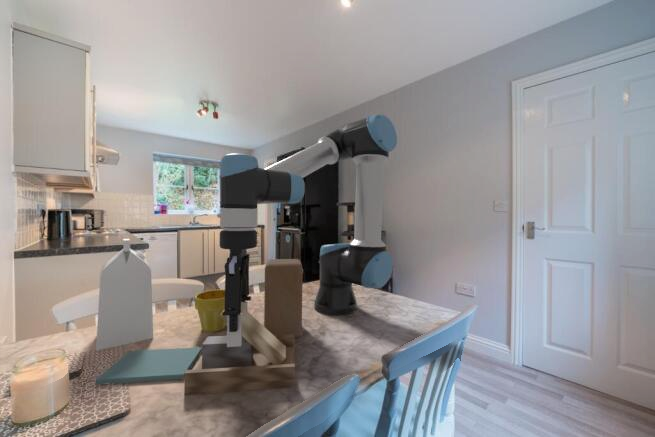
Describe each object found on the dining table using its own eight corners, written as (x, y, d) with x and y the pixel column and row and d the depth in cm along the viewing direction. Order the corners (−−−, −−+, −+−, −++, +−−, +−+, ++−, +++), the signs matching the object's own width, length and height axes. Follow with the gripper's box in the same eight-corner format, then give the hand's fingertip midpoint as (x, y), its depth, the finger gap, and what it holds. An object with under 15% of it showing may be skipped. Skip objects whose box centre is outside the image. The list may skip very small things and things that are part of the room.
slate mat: (202, 351, 64) (202, 347, 64) (183, 379, 54) (183, 374, 54) (129, 355, 62) (129, 350, 62) (95, 384, 51) (95, 379, 51)
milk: (99, 333, 74) (99, 238, 73) (149, 323, 81) (150, 237, 80) (96, 351, 64) (96, 242, 64) (153, 338, 71) (153, 240, 71)
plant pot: (219, 337, 72) (220, 300, 72) (186, 333, 74) (186, 298, 74) (239, 322, 82) (240, 290, 82) (209, 319, 84) (210, 288, 84)
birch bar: (278, 354, 60) (286, 346, 61) (276, 367, 55) (285, 358, 56) (225, 307, 59) (233, 299, 59) (219, 315, 54) (228, 306, 54)
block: (302, 338, 72) (302, 264, 72) (263, 341, 70) (264, 265, 70) (299, 323, 82) (300, 258, 81) (266, 325, 80) (266, 258, 80)
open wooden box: (294, 350, 65) (294, 323, 65) (294, 387, 51) (295, 352, 51) (208, 355, 63) (208, 326, 63) (184, 395, 49) (184, 358, 49)
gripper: (230, 227, 65) (229, 321, 66) (205, 231, 47) (204, 363, 47) (261, 227, 66) (260, 319, 67) (250, 232, 48) (248, 361, 48)
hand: (237, 337), depth 57 cm, fingers open, 6 cm apart
